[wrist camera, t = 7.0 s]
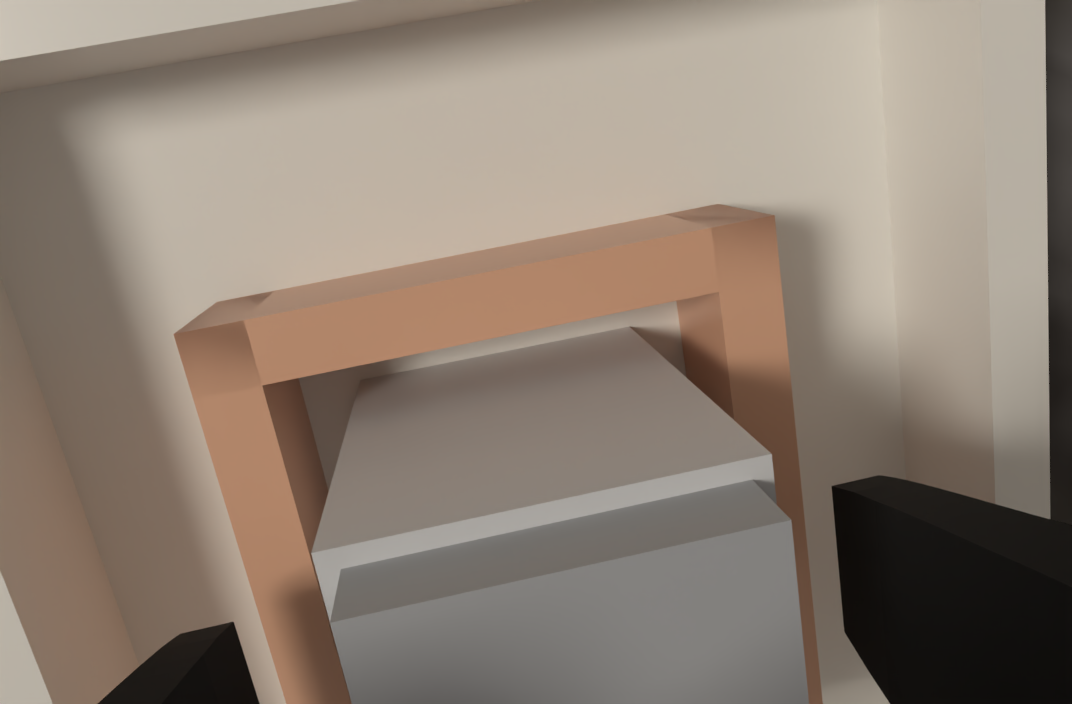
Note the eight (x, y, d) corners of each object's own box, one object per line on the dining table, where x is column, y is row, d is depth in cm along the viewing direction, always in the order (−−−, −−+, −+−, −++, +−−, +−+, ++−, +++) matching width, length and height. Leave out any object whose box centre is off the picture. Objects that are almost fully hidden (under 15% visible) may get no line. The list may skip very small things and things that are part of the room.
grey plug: (671, 618, 13) (856, 975, 8) (430, 674, 13) (433, 1090, 7) (629, 327, 12) (813, 491, 6) (360, 379, 12) (296, 605, 6)
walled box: (941, 782, 16) (1054, 922, 13) (224, 968, 15) (175, 1166, 12) (892, -113, 12) (1043, -197, 9) (-112, 54, 11) (-310, 22, 8)
